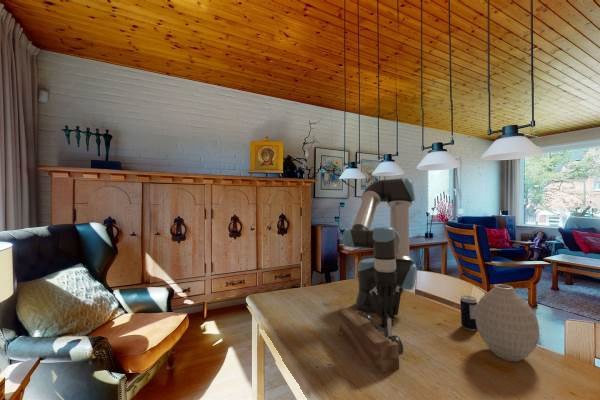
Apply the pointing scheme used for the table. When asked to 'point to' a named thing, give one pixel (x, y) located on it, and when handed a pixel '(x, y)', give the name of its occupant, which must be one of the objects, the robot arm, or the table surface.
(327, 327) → the table surface
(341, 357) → the table surface
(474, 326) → the beverage can
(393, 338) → the knob
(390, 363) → the wooden rack
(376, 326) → the knob
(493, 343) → the vase
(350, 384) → the table surface
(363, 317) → the knob
